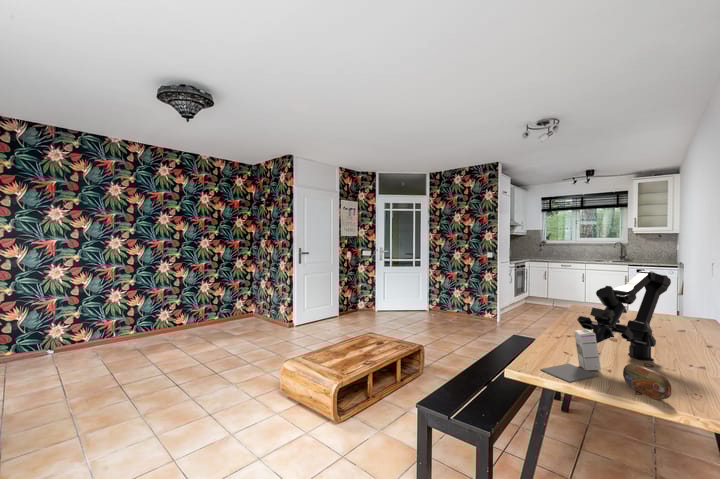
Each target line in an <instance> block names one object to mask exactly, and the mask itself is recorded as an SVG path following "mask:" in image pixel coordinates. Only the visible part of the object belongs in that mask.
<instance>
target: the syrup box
mask: <svg viewBox="0 0 720 479" xmlns="http://www.w3.org/2000/svg"><path fill="white" fill-rule="evenodd" d="M573 333H574V339H575V340H574V341H575V345H576V352H577V359H578V365H579V366H580V368H582V369H585V370H587V371H601V370H602V368H601V361H600V354H599V348H598V347H599V346H598V343H597V341H596V335H595V333H593V330H592V331H591V330H588V329H577V330H574V331H573Z"/></svg>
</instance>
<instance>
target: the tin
mask: <svg viewBox="0 0 720 479" xmlns="http://www.w3.org/2000/svg"><path fill="white" fill-rule="evenodd" d="M622 376H623V379H624V380H623V381H625V383H626V385H627V386H628V387H629V388H631V389H633V390H635V391H636V392H639V393H640V394H643V395H644V396H647V397H649V398H650V399H652V400H656V401H657V400H658V401H659V400H660V401H661V400H667V399H669V398H671V396H672V385H671V382H670V380H669V379H668V377H666V375H664V374H662V373H660V372H658V371H655V370H652V369H650V368H647V367H644V366H642V365H640V364H633V363H629V364H626V365H625V366H624V368H623V371H622Z"/></svg>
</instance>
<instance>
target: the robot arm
mask: <svg viewBox="0 0 720 479" xmlns="http://www.w3.org/2000/svg"><path fill="white" fill-rule="evenodd" d="M671 283H672V280H671V278H669V277H668V276H667V275H665V274H664V275H663V274H659V273H656V272H653V271H651V270H650V271H649V270H639V271H638V273H637V274H636V275H635V276H634V277H633V278H632V279H630V280H629V281H628V282H627V283H626V284H625V285H620V286H616V287H615V288H613V286H611V285H605V286H604V287H602V288H599V289H596V292H595V294H596V296H597V297H596V298H597V299H599V301H600V302H601V304H602V305H603V306H605V308H604V309H601V308H595V307H592V308H591V311H590V314H589V315H590V316H592V317H594V318H593V319H594V320H592V319H591V318H590V316H589V317H588V316H583V315H579V316H578V318H577V319H576V320H577V322H578V323H579V325H580V326H581V327H582V328H583V330H590V331H591V330H592V332H593V333H595V335H596V341H597V344H599V343H601V342H603V341H605V340H609V339H610V338H615V334H617V333H618V334H621V335H620V336H621V339H624V340H626V342H629V343H630V345H629V348H628V349H629V351H628V353H627V355H628V356H630V357H632V358H633V359H635V360H640V361H655V359H654V358H652V348H654V347H655V346H656V344H657V340H656V339H655V337H654V336H653V335H652V334H653V330H652V327H651V325H650V324H651V322H652V321H651V320H652V318H653V316H654V314H655V313H654V312H655V310H656V307H657V304H658V301H659V299H660V296H661V295H662V294H664V293H665V292H667V291H668V289H669V286H671ZM643 288H644V289H645V291H644V292H645V293H644V295H643V298H642V300H641V303H640V305H639V309H638V311H637V314H636V317H635V318H634V319H633V320H628V321H627V324H626V325H625V324H620V322H621V321H620V318H621V316H622V315H623V314H627V313H628V311H627V308H626V306H625V305H633V303H634V302H635V301H636V300H637V294H638V293H639V292H640V291H641V290H643Z"/></svg>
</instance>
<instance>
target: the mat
mask: <svg viewBox="0 0 720 479" xmlns="http://www.w3.org/2000/svg"><path fill="white" fill-rule="evenodd" d="M539 370H540V371H541V372H544V373H546V374H549V375H551V376H553V377H555V378H557V379H560V380H563V381H565V382H567V383H574V382H579V381H582V380H588V379H591V378H596V377H599V376H600V374H599V373H595V372H593V371H591V370H585V369H583V368H582V367H579V366H576V365H574V364H571V363H564V364H560V365H559V364H558V365H554V366H548V367H543V368H540V369H539Z"/></svg>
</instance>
